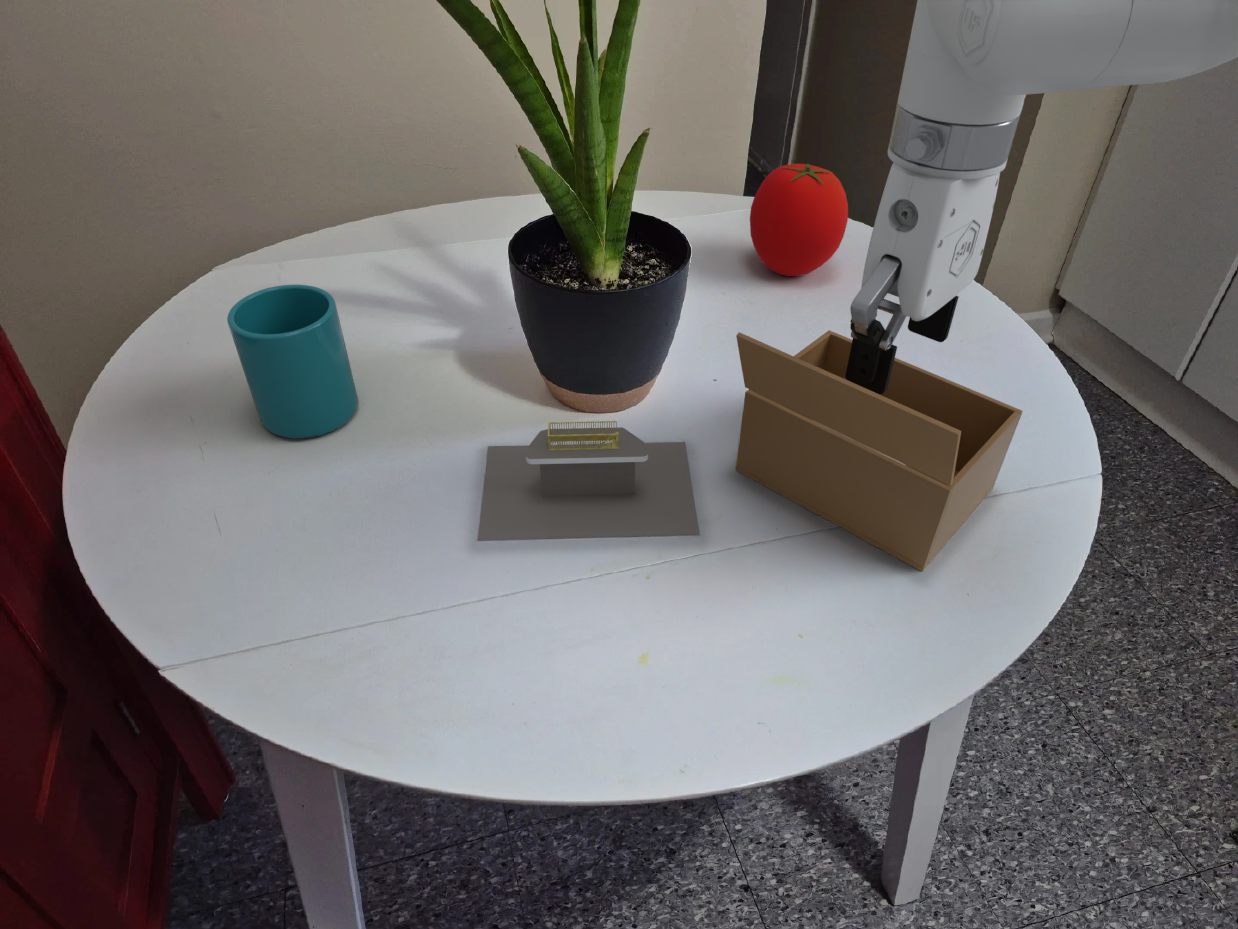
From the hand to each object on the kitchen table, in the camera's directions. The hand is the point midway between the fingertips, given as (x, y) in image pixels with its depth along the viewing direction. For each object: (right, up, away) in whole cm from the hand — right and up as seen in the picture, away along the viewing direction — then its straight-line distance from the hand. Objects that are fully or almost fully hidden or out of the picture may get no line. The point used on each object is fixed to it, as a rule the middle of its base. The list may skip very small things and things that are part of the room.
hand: (897, 359), depth 67 cm
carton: (0, -9, +9) cm, 13 cm away
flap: (-5, -4, -3) cm, 7 cm away
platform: (-24, -10, +8) cm, 27 cm away
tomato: (-1, +15, +38) cm, 41 cm away
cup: (-51, -2, +17) cm, 54 cm away
